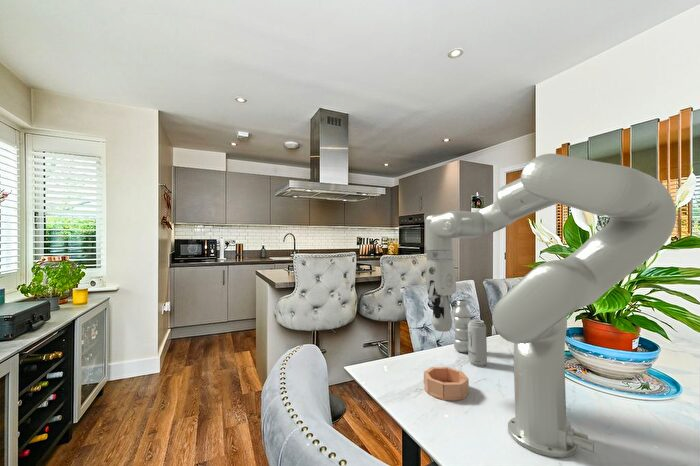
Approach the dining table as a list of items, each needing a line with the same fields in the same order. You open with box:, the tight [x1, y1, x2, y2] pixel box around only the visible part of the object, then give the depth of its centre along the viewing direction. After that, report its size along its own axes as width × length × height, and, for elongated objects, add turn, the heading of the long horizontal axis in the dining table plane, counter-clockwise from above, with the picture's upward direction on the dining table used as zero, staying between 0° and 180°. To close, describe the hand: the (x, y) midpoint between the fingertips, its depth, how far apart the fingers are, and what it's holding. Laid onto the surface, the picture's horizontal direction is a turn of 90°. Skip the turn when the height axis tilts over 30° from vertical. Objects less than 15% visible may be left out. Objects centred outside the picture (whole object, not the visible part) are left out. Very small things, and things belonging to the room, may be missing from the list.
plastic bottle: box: [452, 299, 472, 353], centre depth 118 cm, size 6×7×20 cm
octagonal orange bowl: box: [423, 366, 470, 402], centre depth 87 cm, size 12×12×4 cm
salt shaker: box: [431, 294, 453, 333], centre depth 87 cm, size 6×6×13 cm
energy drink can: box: [467, 318, 488, 368], centre depth 106 cm, size 6×6×15 cm
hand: (442, 318), depth 87 cm, fingers closed on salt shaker, 3 cm apart
